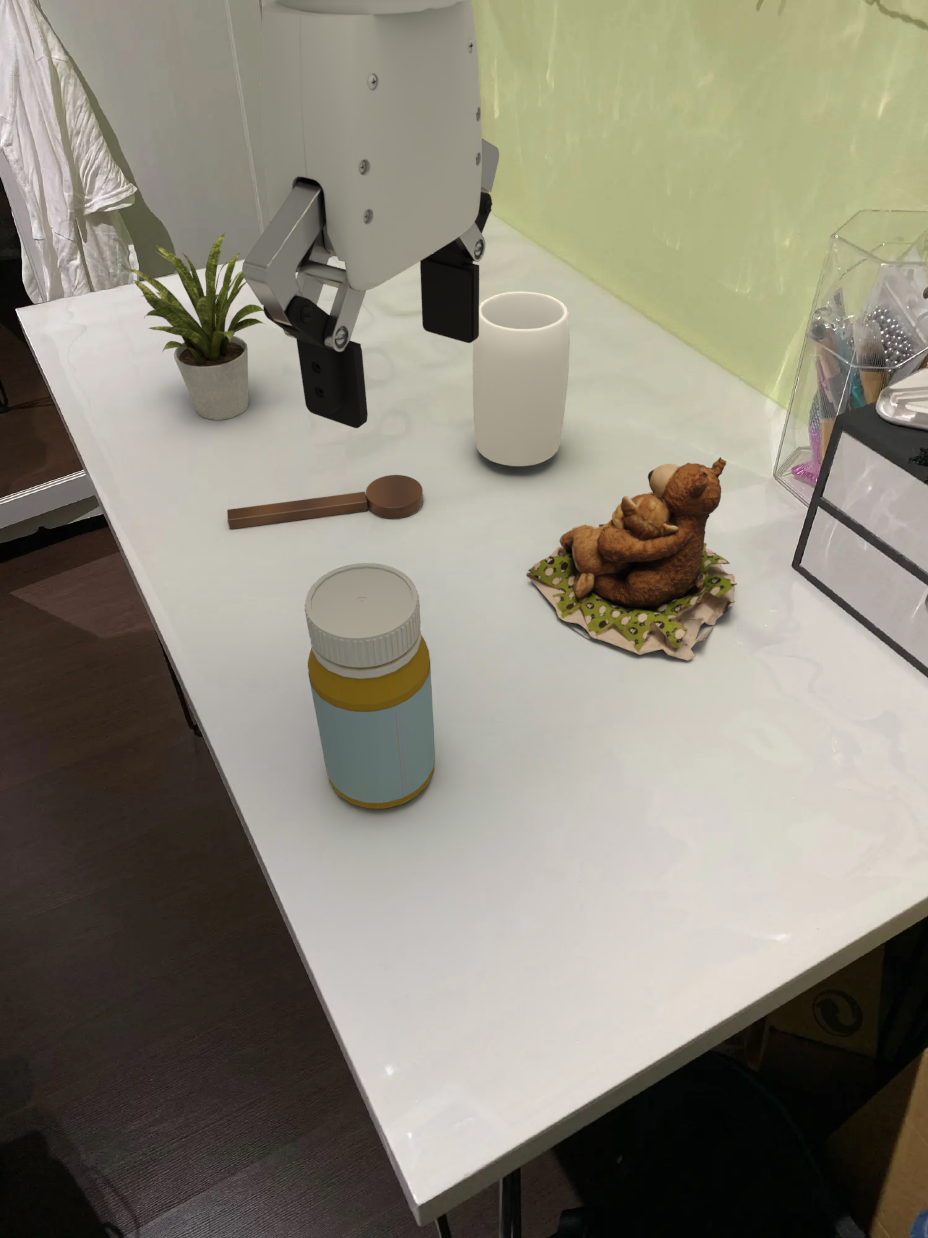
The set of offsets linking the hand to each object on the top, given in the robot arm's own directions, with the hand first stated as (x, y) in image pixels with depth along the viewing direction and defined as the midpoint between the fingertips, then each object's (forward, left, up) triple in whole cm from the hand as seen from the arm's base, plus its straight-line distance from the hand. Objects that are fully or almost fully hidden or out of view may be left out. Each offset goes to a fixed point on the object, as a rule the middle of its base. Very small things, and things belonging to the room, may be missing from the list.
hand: (397, 373), depth 45 cm
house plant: (-11, +46, -26) cm, 54 cm away
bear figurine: (+19, +9, -26) cm, 33 cm away
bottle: (-3, -4, -26) cm, 26 cm away
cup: (+15, +30, -26) cm, 42 cm away
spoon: (-3, +25, -26) cm, 36 cm away
